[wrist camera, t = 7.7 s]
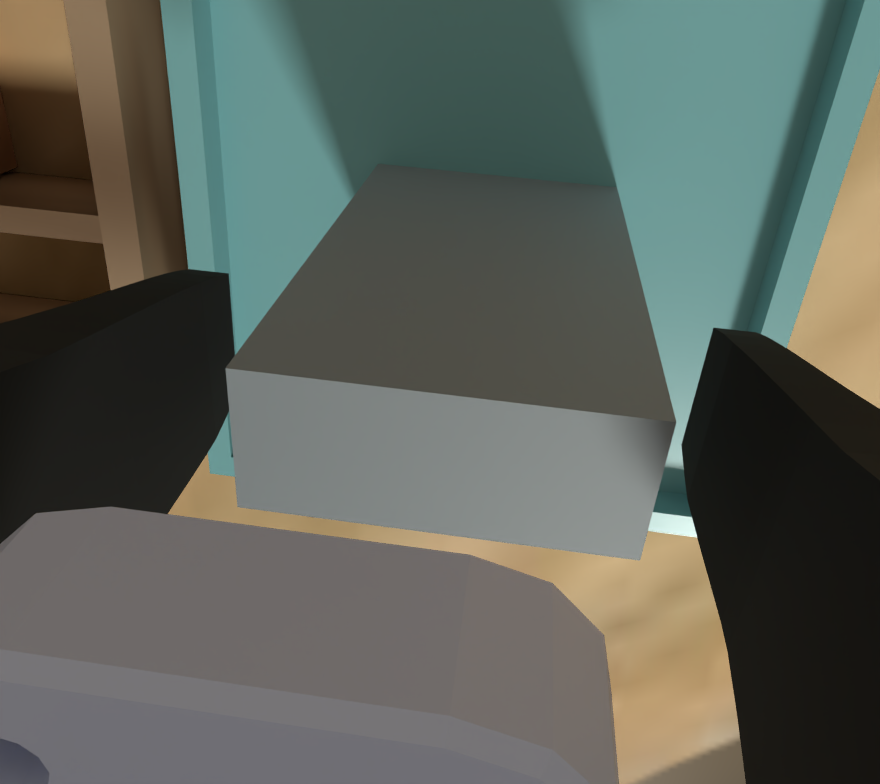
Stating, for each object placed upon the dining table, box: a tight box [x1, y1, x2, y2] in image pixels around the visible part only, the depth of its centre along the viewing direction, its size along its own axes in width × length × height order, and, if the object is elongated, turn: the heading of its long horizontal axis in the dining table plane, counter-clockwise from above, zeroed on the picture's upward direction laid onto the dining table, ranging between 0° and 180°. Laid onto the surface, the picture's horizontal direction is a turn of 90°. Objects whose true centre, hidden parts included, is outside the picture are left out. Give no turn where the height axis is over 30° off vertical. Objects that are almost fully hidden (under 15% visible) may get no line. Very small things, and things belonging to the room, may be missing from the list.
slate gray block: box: [226, 164, 676, 560], centre depth 13 cm, size 2×5×9 cm, turn 87°
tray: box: [160, 0, 880, 537], centre depth 17 cm, size 14×13×2 cm
